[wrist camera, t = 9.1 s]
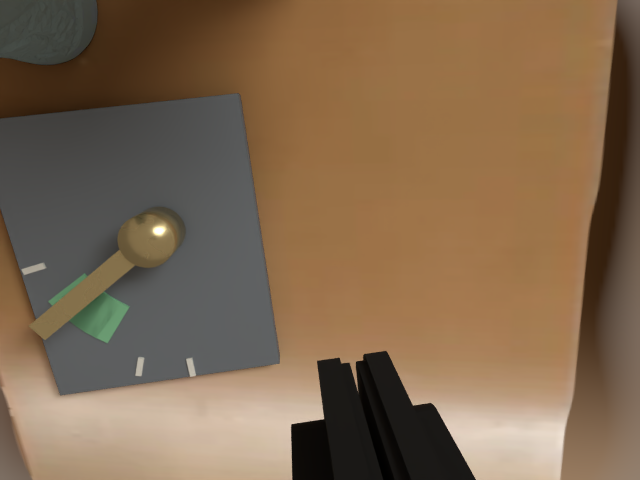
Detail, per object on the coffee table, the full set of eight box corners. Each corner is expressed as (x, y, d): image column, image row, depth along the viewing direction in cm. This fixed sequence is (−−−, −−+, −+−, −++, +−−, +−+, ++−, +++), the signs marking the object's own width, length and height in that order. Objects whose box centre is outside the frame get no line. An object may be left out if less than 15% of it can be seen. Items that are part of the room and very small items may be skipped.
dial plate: (-14, 122, 32) (-30, 121, 30) (240, 95, 33) (238, 93, 31) (68, 385, 38) (59, 396, 36) (279, 355, 39) (279, 364, 37)
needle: (161, 196, 33) (146, 204, 29) (195, 233, 34) (185, 245, 30) (42, 297, 34) (13, 316, 30) (79, 330, 35) (54, 352, 31)
